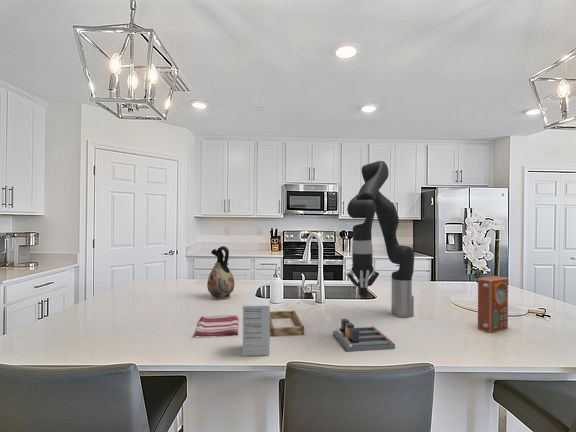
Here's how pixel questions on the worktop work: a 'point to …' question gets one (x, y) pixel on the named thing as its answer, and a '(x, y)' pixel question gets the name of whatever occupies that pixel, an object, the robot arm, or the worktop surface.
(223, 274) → the ceramic jug
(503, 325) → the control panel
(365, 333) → the breaker panel
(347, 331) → the breaker
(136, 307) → the worktop surface
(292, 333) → the wooden frame
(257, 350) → the supplement box
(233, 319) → the dish towel
